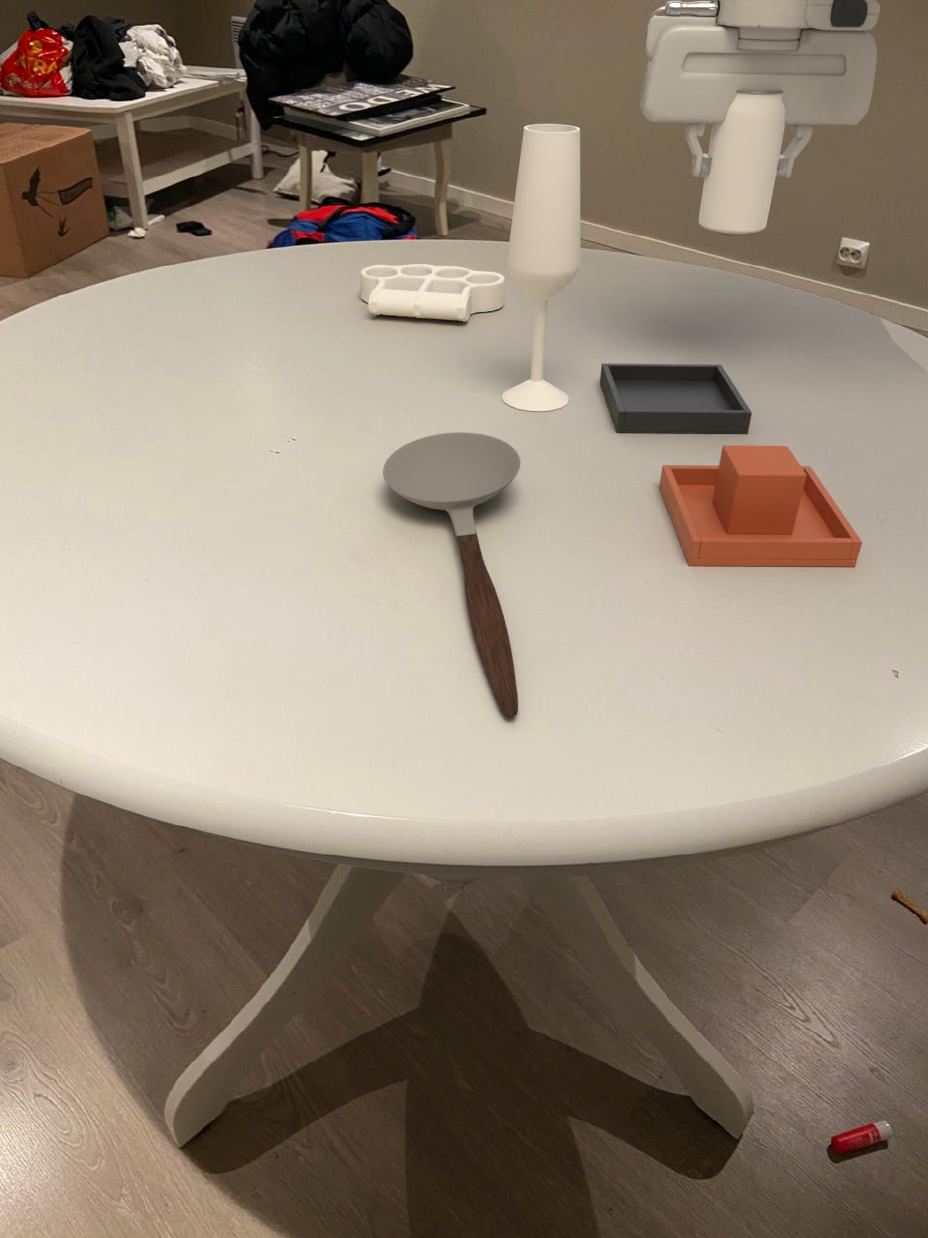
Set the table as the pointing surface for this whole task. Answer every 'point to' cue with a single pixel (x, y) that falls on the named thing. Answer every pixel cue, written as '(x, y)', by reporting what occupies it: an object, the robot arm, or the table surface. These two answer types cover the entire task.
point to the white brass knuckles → (430, 290)
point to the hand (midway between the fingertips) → (740, 176)
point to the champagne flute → (545, 242)
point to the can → (743, 165)
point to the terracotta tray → (706, 542)
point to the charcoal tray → (673, 399)
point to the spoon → (465, 528)
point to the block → (758, 489)
